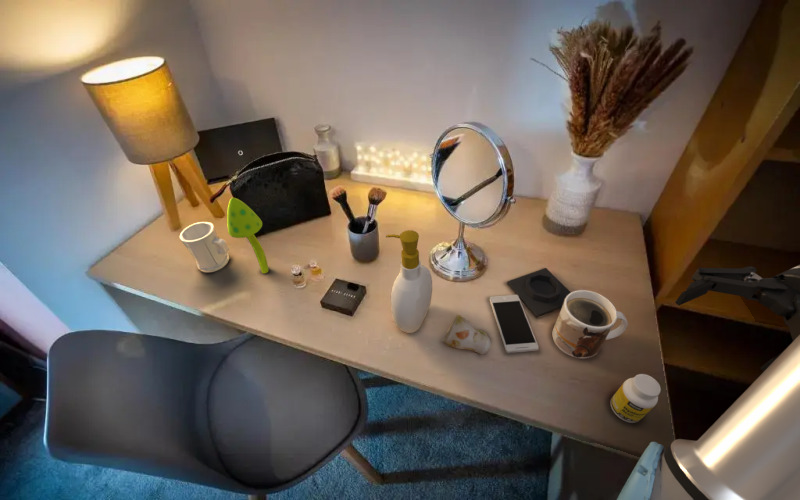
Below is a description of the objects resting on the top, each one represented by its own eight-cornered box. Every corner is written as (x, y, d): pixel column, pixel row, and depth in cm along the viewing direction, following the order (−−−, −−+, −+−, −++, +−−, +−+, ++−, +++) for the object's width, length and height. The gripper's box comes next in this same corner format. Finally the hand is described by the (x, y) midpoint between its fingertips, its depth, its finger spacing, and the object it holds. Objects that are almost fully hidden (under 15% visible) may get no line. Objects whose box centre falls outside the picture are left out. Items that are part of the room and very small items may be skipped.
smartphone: (517, 296, 88) (517, 294, 87) (538, 350, 76) (539, 348, 76) (488, 298, 88) (489, 296, 87) (506, 353, 76) (506, 351, 76)
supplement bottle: (612, 420, 65) (633, 395, 58) (607, 392, 69) (626, 366, 62) (645, 426, 64) (670, 402, 57) (638, 398, 68) (660, 372, 61)
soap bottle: (405, 291, 91) (399, 210, 74) (438, 300, 88) (440, 218, 71) (382, 335, 81) (369, 253, 64) (418, 347, 79) (415, 265, 61)
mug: (564, 312, 84) (578, 280, 76) (618, 340, 77) (638, 309, 70) (544, 341, 78) (556, 310, 71) (599, 374, 72) (619, 343, 64)
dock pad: (577, 302, 86) (580, 294, 84) (536, 318, 83) (538, 310, 81) (545, 270, 94) (547, 262, 92) (506, 283, 91) (508, 275, 89)
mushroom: (246, 282, 97) (208, 208, 80) (254, 261, 103) (220, 189, 86) (276, 280, 97) (244, 206, 80) (282, 259, 103) (254, 186, 86)
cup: (234, 247, 109) (219, 216, 101) (237, 265, 102) (220, 234, 94) (198, 258, 106) (179, 227, 98) (199, 277, 99) (178, 246, 91)
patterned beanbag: (488, 367, 74) (467, 343, 69) (452, 356, 81) (430, 334, 76) (500, 336, 78) (481, 311, 72) (464, 329, 85) (444, 306, 79)
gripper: (887, 359, 54) (795, 413, 49) (722, 258, 71) (643, 290, 66) (934, 330, 49) (837, 388, 44) (745, 229, 66) (660, 262, 61)
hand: (720, 329), depth 55 cm, fingers open, 13 cm apart
